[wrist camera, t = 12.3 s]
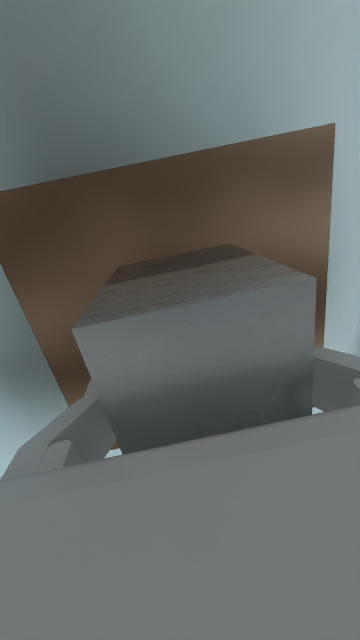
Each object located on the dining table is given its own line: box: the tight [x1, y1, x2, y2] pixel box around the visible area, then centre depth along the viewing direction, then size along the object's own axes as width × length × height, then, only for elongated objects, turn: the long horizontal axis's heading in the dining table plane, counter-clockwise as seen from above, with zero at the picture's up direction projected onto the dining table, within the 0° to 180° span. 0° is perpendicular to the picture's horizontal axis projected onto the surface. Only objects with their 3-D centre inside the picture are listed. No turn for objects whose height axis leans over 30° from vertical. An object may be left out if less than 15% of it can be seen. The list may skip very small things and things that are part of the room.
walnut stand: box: [0, 123, 335, 450], centre depth 15 cm, size 15×15×5 cm
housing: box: [71, 243, 317, 455], centre depth 9 cm, size 5×8×6 cm, turn 11°
